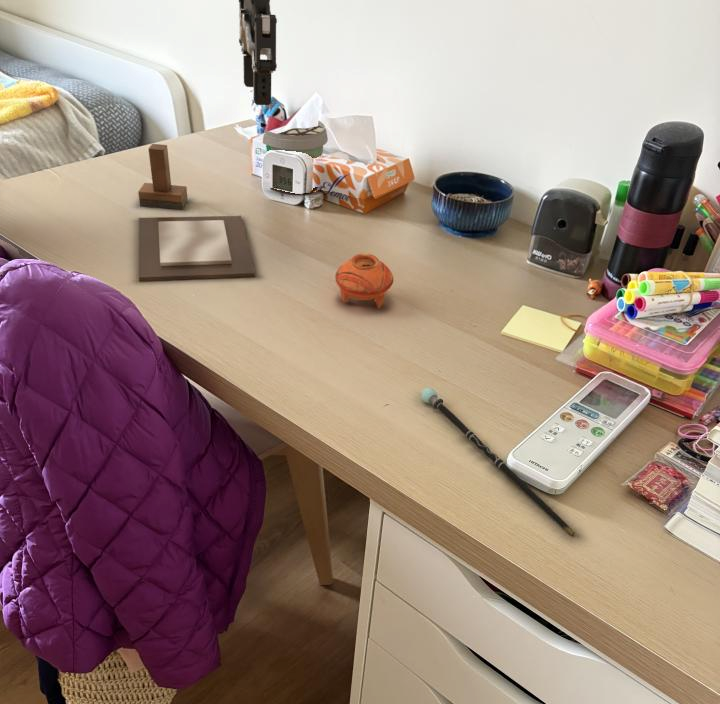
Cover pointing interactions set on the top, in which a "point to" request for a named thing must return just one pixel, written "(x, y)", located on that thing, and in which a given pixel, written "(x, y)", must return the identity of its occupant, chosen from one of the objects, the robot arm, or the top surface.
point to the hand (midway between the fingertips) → (257, 95)
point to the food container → (298, 143)
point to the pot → (364, 278)
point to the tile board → (193, 248)
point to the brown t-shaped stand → (161, 183)
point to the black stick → (490, 454)
